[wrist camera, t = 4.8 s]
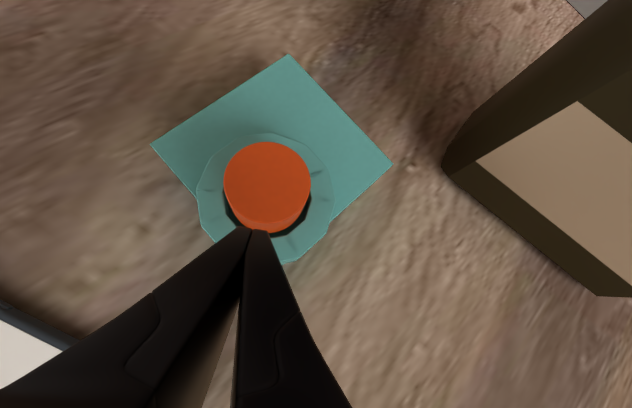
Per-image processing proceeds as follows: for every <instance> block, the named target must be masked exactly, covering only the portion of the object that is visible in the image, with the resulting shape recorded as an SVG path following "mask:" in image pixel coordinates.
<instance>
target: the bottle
mask: <svg viewBox="0 0 632 408" xmlns="http://www.w3.org/2000/svg"><path fill="white" fill-rule="evenodd" d="M441 167H442V169H443V170H444V171H445V173H446V174H447V175H448V177H449V178H451V179H452V180H453V181H454V182H456V183H457V184H458V185H459V186H461V187H462V188H463V189H464V190H466V191H467V192H468V193H469V194H471V195H472V196H473V197H474V198H476V199H477V200H478V201H479V202H480V203H482V204H483V205H484V206H485V207H487V208H488V209H489V210H490V211H492V212H493V213H494V214H495V215H497V216H498V217H499V218H500V219H502V220H503V221H504V222H505V223H507V224H508V225H509V226H510V227H512V228H513V229H514V230H515V231H517V232H518V233H519V234H520V235H522V236H523V237H524V238H525V239H526V240H528V241H529V242H530V243H531V244H533V245H534V246H535V247H536V248H538V249H539V250H540V251H541V252H543V253H544V254H545V255H546V256H548V257H549V258H550V259H551V260H553V261H554V262H555V263H556V264H558V265H559V266H560V267H561V268H563V269H564V270H565V271H566V272H567V273H569V274H570V275H571V276H572V277H574V278H575V279H576V280H577V281H579V282H580V283H581V284H582V285H584V286H585V287H586V288H587V289H589V290H590V291H591V292H592V293H594V294H595V295H596V296H608V297H632V0H608V1H606V2H605V3H604V4H603V5H602V6H600V7H599V8H598V9H597V10H596V11H594V12H593V13H592V14H591V15H590V16H588V17H587V18H586V19H585V20H584V21H582V22H581V23H580V24H579V25H578V26H576V27H575V28H574V29H573V30H572V31H570V32H569V33H568V34H567V35H566V36H564V37H563V38H562V39H561V40H559V41H558V42H557V43H556V44H555V45H553V46H552V47H551V48H550V49H549V50H547V51H546V52H545V53H544V54H543V55H541V56H540V57H539V58H538V59H537V60H535V61H534V62H533V63H532V64H531V65H529V66H528V67H527V68H526V69H525V70H523V71H522V72H521V73H520V74H519V75H517V76H516V77H515V78H514V79H513V80H511V81H510V82H509V83H508V84H507V85H505V86H504V87H503V88H502V89H501V90H499V91H498V92H497V93H496V94H495V95H493V96H492V97H491V98H490V99H489V100H487V101H486V102H485V103H484V104H482V105H481V106H480V107H479V108H478V109H476V110H475V111H474V112H473V113H472V114H471V116H470V117H469V119H468V120H467V121H466V123H465V124H464V125H463V127H462V128H461V129H460V131H459V132H458V134H457V135H456V136H455V138H454V139H453V140H452V142H451V143H450V144H449V146H448V148H447V150H446V153H445V156H444V159H443V162H442V164H441Z"/></svg>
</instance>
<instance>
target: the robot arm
mask: <svg viewBox="0 0 632 408" xmlns="http://www.w3.org/2000/svg"><path fill="white" fill-rule="evenodd" d="M239 300H240V301H239ZM238 304H239V310H238V320H237V332H236V344H235V355H234V367H233V379H232V390H231V402H230V408H352V407H351V405H350V403H349V401H348V400H347V398H346V396H345V395H344V393H343V391H342V389H341V388H340V386H339V384H338V383H337V381H336V379H335V377H334V376H333V374H332V372H331V371H330V369H329V367H328V365H327V364H326V362H325V360H324V359H323V357H322V355H321V353H320V351H319V349H318V348H317V346H316V344H315V342H314V340H313V338H312V336H311V334H310V331H309V329H308V327H307V325H306V323H305V320H304V318H303V315H302V313H301V312H300V308H299V306H298V304H297V301H296V299H295V296H294V294H293V292H292V289H291V287H290V284H289V282H288V280H287V277H286V275H285V272H284V270H283V267H282V265H281V263H280V260H279V258H278V255H277V253H276V251H275V248H274V246H273V243H272V241H271V239H270V236H269V234H268V232H267V231H266V230H260V229H253V230H252V229H251V228H247V227H241V226H238V227H236V228H235V229H234V230H232V231H231V232H230V233H228V234H227V235H226V236H225V237H223V238H222V239H221V240H219V241H218V242H217V243H215V244H214V245H213V246H211V247H210V248H209V249H207V250H206V251H205V252H203V253H202V254H201V255H199V256H198V257H197V258H195V259H194V260H193V261H191V262H190V263H189V264H188V265H186V266H185V267H184V268H182V269H181V270H180V271H178V272H177V273H176V274H174V275H173V276H172V277H170V278H169V279H168V280H166V281H165V282H164V283H162V284H161V285H160V286H158V287H157V288H156V289H154V290H153V291H152V293H149V294H148V295H146V296H145V297H144V298H142V299H141V300H140V301H138V302H137V303H136V304H134V305H133V306H131V307H130V308H129V309H127V310H126V311H125V312H123V313H122V314H120V315H119V316H118V317H116V318H115V319H113V320H111V321H110V322H108V323H107V324H105V325H104V326H102V327H101V328H99V329H98V330H96V331H95V332H93V333H92V334H90V335H88V336H87V337H85V338H84V339H82V340H80V341H79V342H77V343H76V344H74V345H72V346H71V347H69V348H68V349H66V350H64V351H63V352H61V353H59V354H58V355H56V356H55V357H53V358H51V359H50V360H48V361H47V362H45V363H43V364H42V365H40V366H39V367H37V368H35V369H34V370H32V371H31V372H29V373H27V374H26V375H24V376H23V377H21V378H19V379H18V380H16V381H14V382H12V383H11V384H9V385H7V386H5V387H3V388H1V389H0V408H201V407H202V405H203V402H204V399H205V396H206V394H207V391H208V388H209V385H210V383H211V380H212V377H213V374H214V371H215V369H216V366H217V363H218V360H219V358H220V355H221V352H222V349H223V346H224V344H225V341H226V338H227V335H228V333H229V330H230V327H231V324H232V321H233V319H234V316H235V313H236V310H237V307H238Z"/></svg>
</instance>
